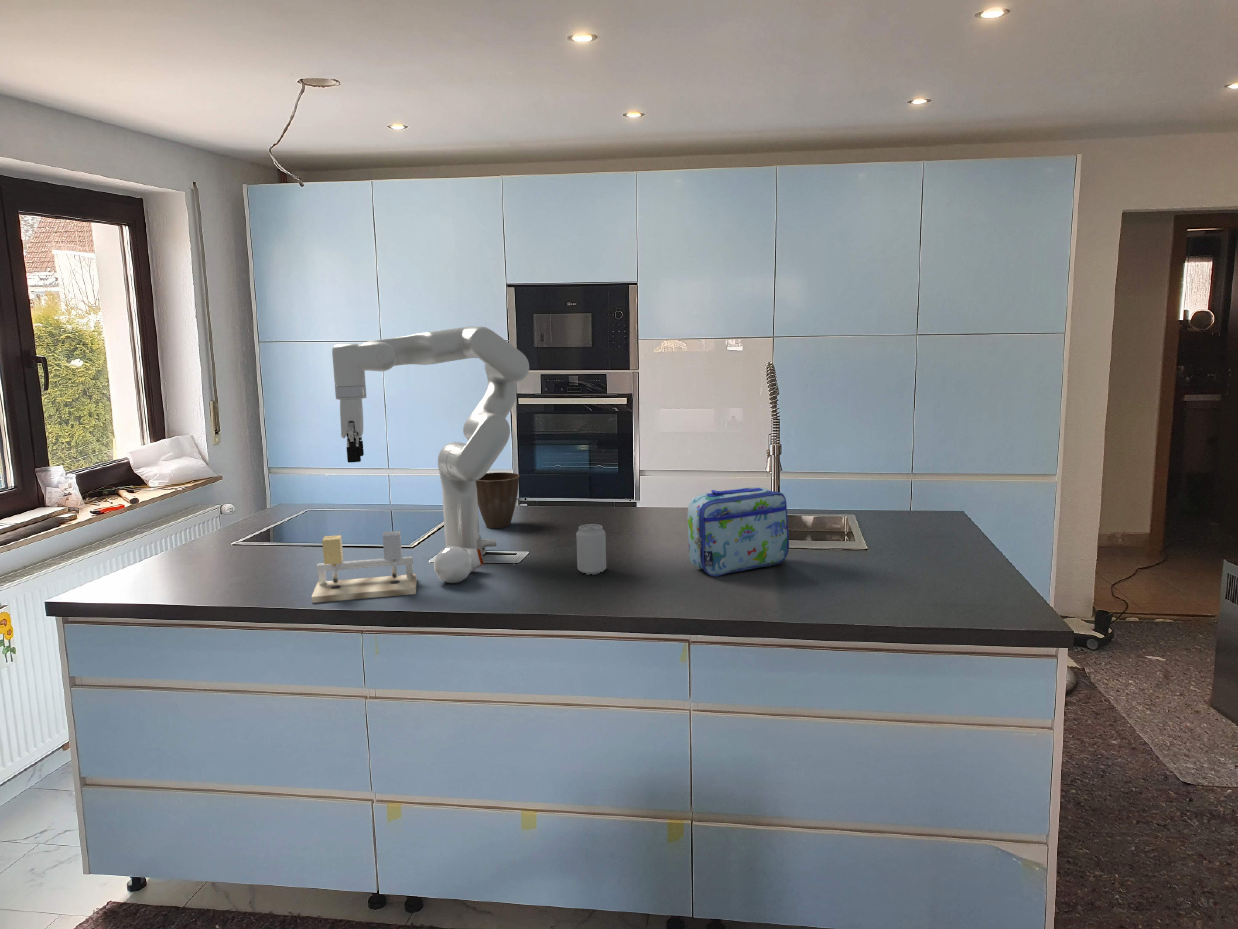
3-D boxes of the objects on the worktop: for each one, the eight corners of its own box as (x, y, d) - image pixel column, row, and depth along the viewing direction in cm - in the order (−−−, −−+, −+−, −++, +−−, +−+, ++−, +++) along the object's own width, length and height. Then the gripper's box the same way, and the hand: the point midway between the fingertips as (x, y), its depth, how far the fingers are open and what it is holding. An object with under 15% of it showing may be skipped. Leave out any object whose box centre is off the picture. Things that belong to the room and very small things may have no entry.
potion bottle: (438, 593, 217) (468, 583, 231) (466, 573, 214) (495, 563, 228) (419, 562, 218) (450, 553, 233) (447, 541, 215) (477, 533, 229)
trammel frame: (414, 575, 223) (410, 527, 221) (413, 583, 216) (410, 534, 214) (319, 583, 218) (314, 534, 216) (315, 591, 212) (311, 541, 209)
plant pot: (468, 523, 282) (466, 474, 280) (513, 518, 289) (510, 470, 286) (481, 533, 269) (479, 482, 266) (528, 527, 275) (525, 477, 272)
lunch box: (702, 580, 218) (701, 497, 214) (683, 569, 228) (682, 489, 224) (792, 567, 227) (793, 487, 224) (771, 556, 237) (771, 480, 233)
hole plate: (416, 579, 224) (416, 573, 224) (415, 594, 213) (415, 587, 212) (318, 587, 219) (317, 581, 219) (311, 603, 208) (311, 596, 208)
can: (581, 576, 223) (579, 530, 221) (574, 568, 230) (573, 524, 228) (609, 573, 225) (608, 528, 223) (602, 565, 232) (601, 521, 230)
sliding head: (346, 576, 219) (342, 532, 217) (343, 585, 213) (339, 539, 211) (329, 578, 219) (325, 533, 217) (326, 586, 212) (322, 540, 210)
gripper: (338, 390, 231) (343, 454, 234) (331, 396, 214) (337, 465, 217) (368, 389, 233) (373, 453, 236) (363, 395, 216) (368, 463, 219)
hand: (355, 459), depth 226 cm, fingers open, 9 cm apart
